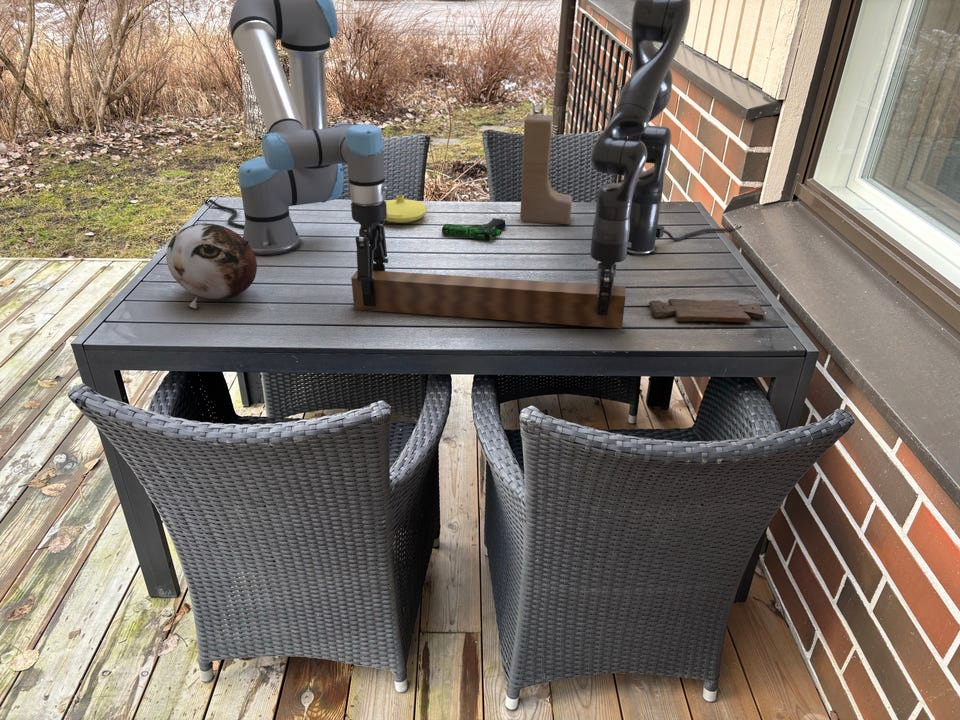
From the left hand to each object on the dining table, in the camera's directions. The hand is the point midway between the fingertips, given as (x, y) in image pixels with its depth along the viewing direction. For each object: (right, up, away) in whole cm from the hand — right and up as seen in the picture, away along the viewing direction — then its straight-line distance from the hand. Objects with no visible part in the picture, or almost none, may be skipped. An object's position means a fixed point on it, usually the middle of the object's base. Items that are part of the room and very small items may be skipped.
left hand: (375, 297), depth 164 cm
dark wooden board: (+76, -4, 0) cm, 77 cm away
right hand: (+51, -3, -7) cm, 52 cm away
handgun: (+23, +23, +43) cm, 54 cm away
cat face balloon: (-38, +1, +5) cm, 38 cm away
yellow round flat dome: (0, +28, +52) cm, 59 cm away
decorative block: (+44, +28, +53) cm, 75 cm away
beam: (+26, -4, -2) cm, 26 cm away
